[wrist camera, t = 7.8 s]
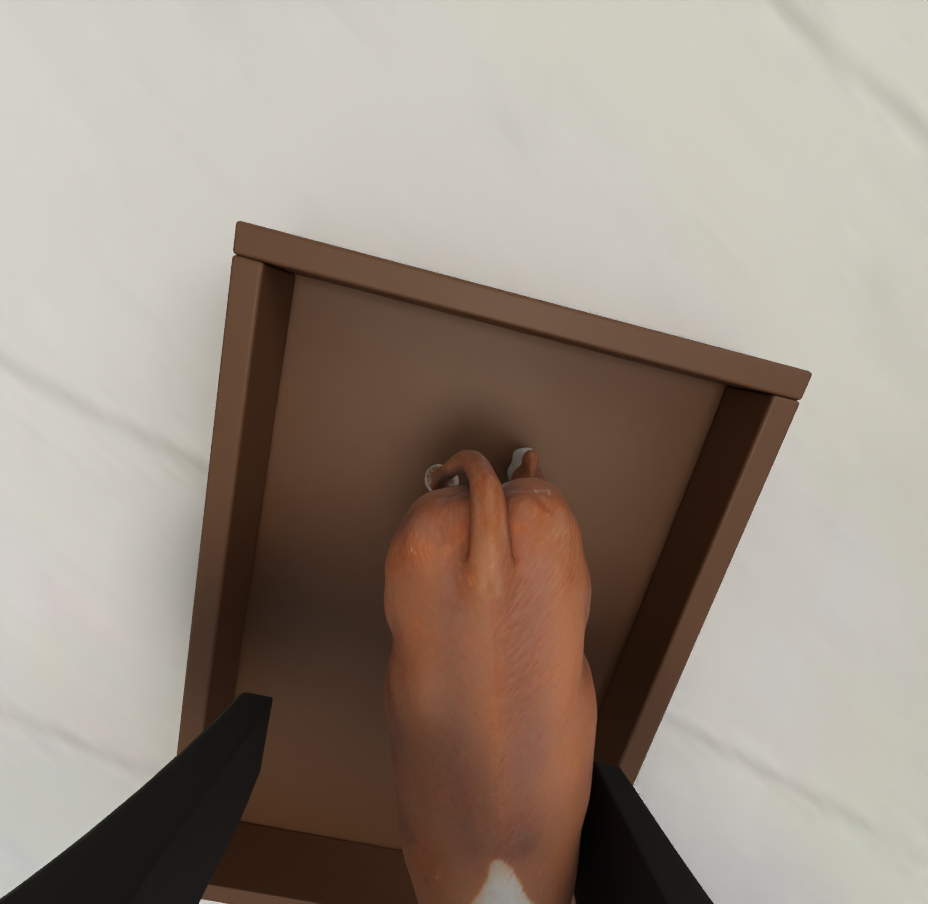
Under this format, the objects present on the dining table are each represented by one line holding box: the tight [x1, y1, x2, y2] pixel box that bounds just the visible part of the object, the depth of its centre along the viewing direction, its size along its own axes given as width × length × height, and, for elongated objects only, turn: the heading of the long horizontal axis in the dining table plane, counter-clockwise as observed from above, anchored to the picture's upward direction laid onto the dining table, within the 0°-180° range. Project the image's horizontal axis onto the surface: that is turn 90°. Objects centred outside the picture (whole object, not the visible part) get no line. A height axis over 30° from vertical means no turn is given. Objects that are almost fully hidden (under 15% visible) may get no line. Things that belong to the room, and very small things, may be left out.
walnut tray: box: [177, 221, 812, 904], centre depth 14 cm, size 20×13×2 cm, turn 166°
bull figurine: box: [384, 448, 597, 904], centre depth 10 cm, size 4×13×8 cm, turn 175°
